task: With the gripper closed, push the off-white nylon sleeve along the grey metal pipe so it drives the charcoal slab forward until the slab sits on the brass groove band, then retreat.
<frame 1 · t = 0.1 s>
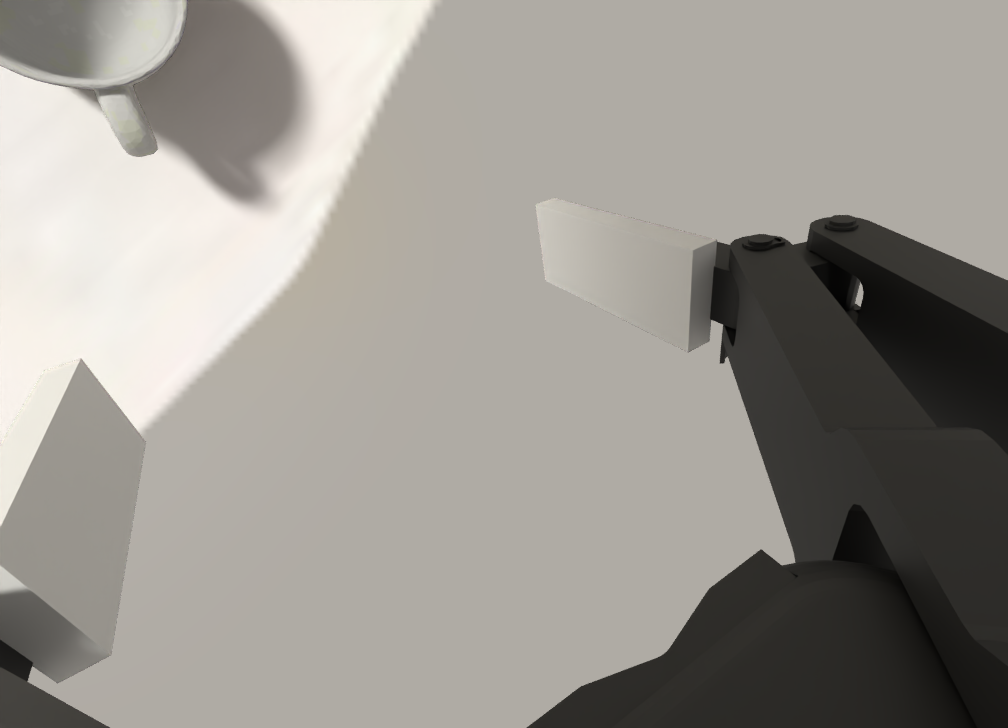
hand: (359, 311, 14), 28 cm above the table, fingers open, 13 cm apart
teacup: (86, 19, 28), on the table
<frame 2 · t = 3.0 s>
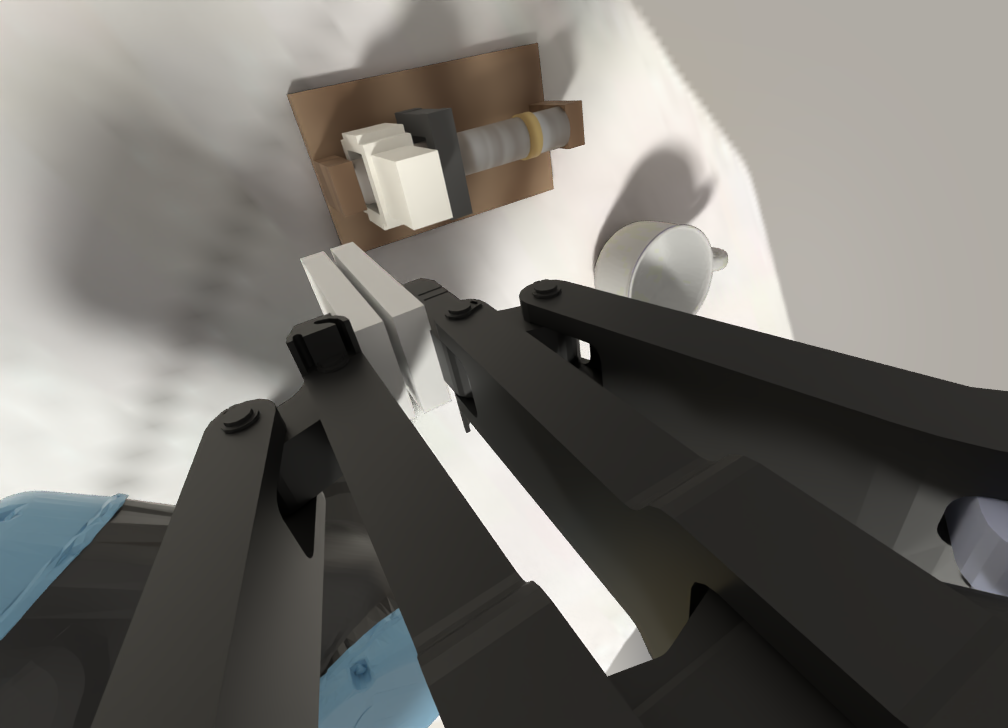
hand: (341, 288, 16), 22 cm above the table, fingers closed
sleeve: (395, 180, 30), point 7 cm above the table, slide at 0.0 cm
pipe rig: (438, 148, 38), on the table
charcoal slab: (433, 162, 33), point 5 cm above the table, slide at 0.0 cm
teacup: (629, 261, 53), on the table
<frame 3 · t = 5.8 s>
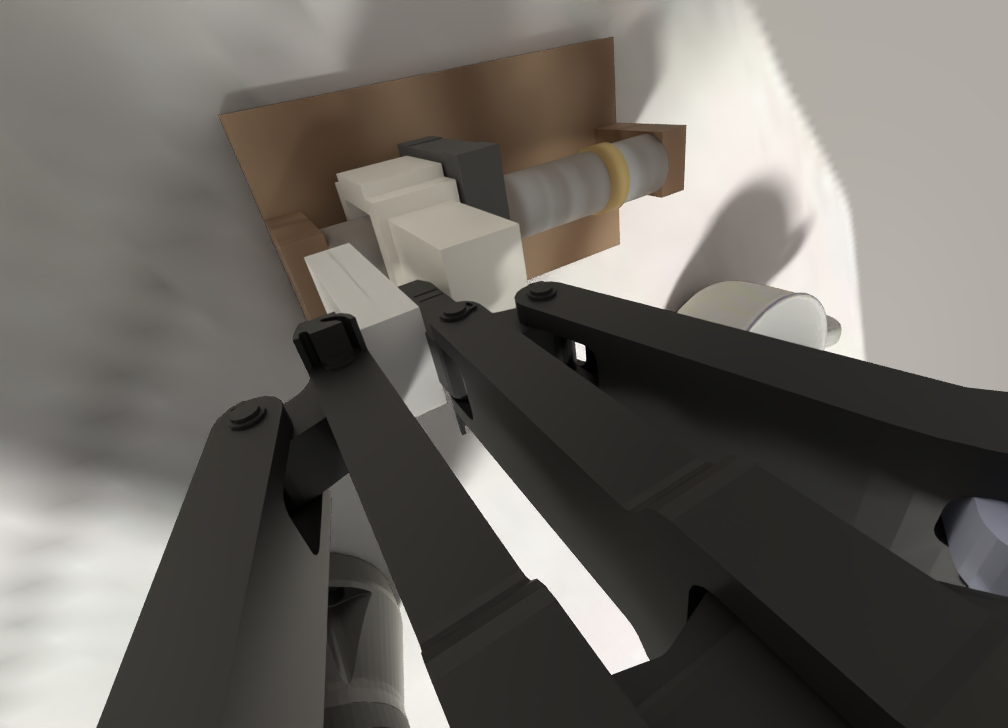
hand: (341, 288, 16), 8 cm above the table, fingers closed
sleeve: (427, 255, 18), point 7 cm above the table, slide at 1.1 cm, touching gripper
pipe rig: (461, 193, 25), on the table
charcoal slab: (459, 225, 20), point 5 cm above the table, slide at 0.0 cm
teacup: (701, 327, 40), on the table
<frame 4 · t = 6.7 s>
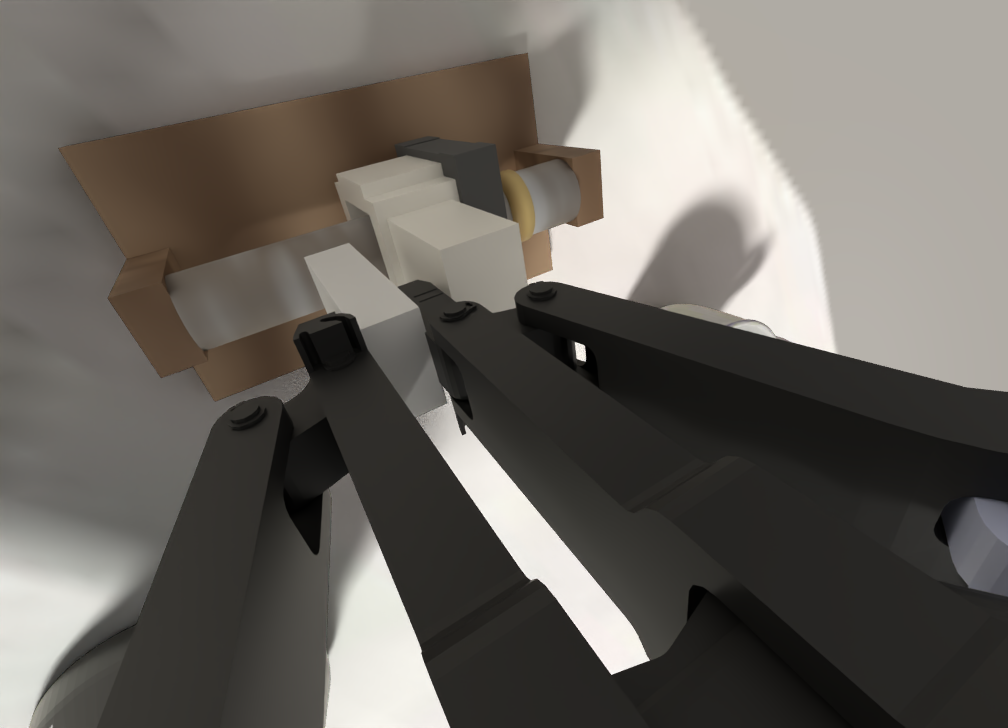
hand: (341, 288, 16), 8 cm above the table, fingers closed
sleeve: (426, 255, 18), point 7 cm above the table, slide at 6.3 cm, touching gripper, charcoal slab
pipe rig: (367, 221, 23), on the table
charcoal slab: (456, 225, 20), point 5 cm above the table, slide at 5.1 cm, touching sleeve
teacup: (655, 349, 39), on the table
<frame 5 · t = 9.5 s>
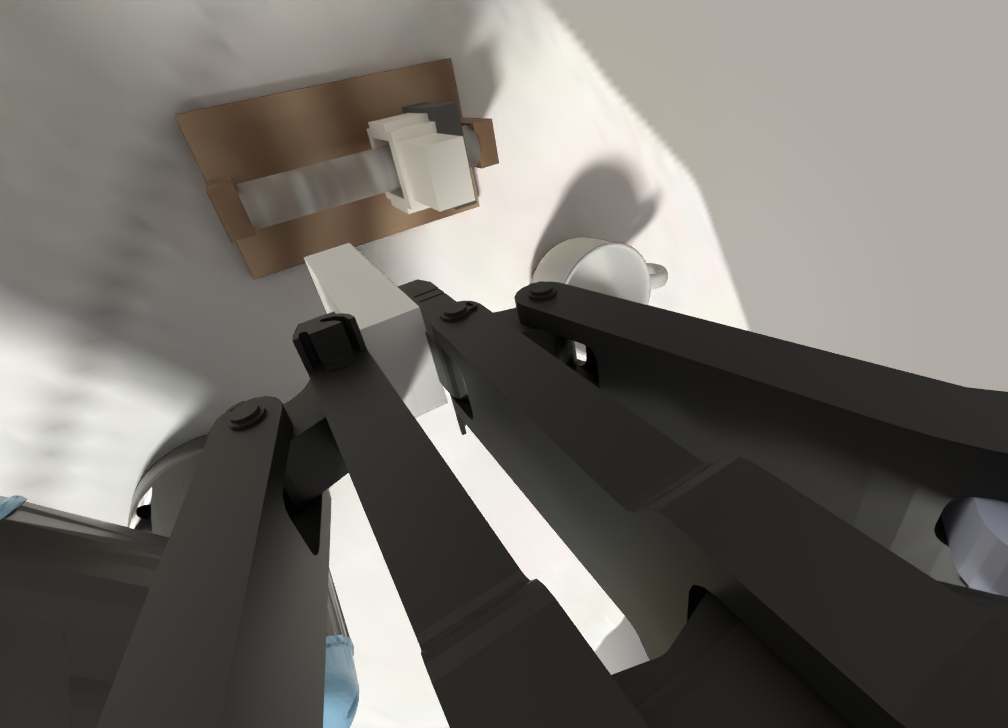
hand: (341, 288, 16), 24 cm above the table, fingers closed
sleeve: (420, 166, 32), point 7 cm above the table, slide at 9.0 cm
pipe rig: (349, 167, 37), on the table
charcoal slab: (438, 154, 34), point 5 cm above the table, slide at 7.9 cm
teacup: (571, 277, 52), on the table
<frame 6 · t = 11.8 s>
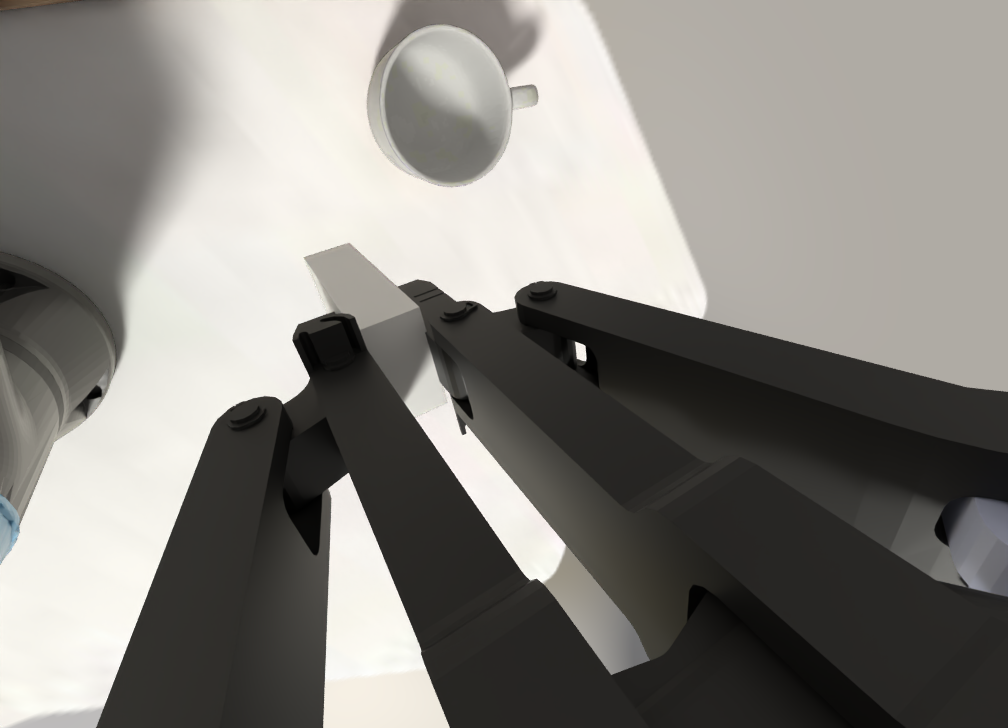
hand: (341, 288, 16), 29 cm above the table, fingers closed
teacup: (432, 111, 43), on the table
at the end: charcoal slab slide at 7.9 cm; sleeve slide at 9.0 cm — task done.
